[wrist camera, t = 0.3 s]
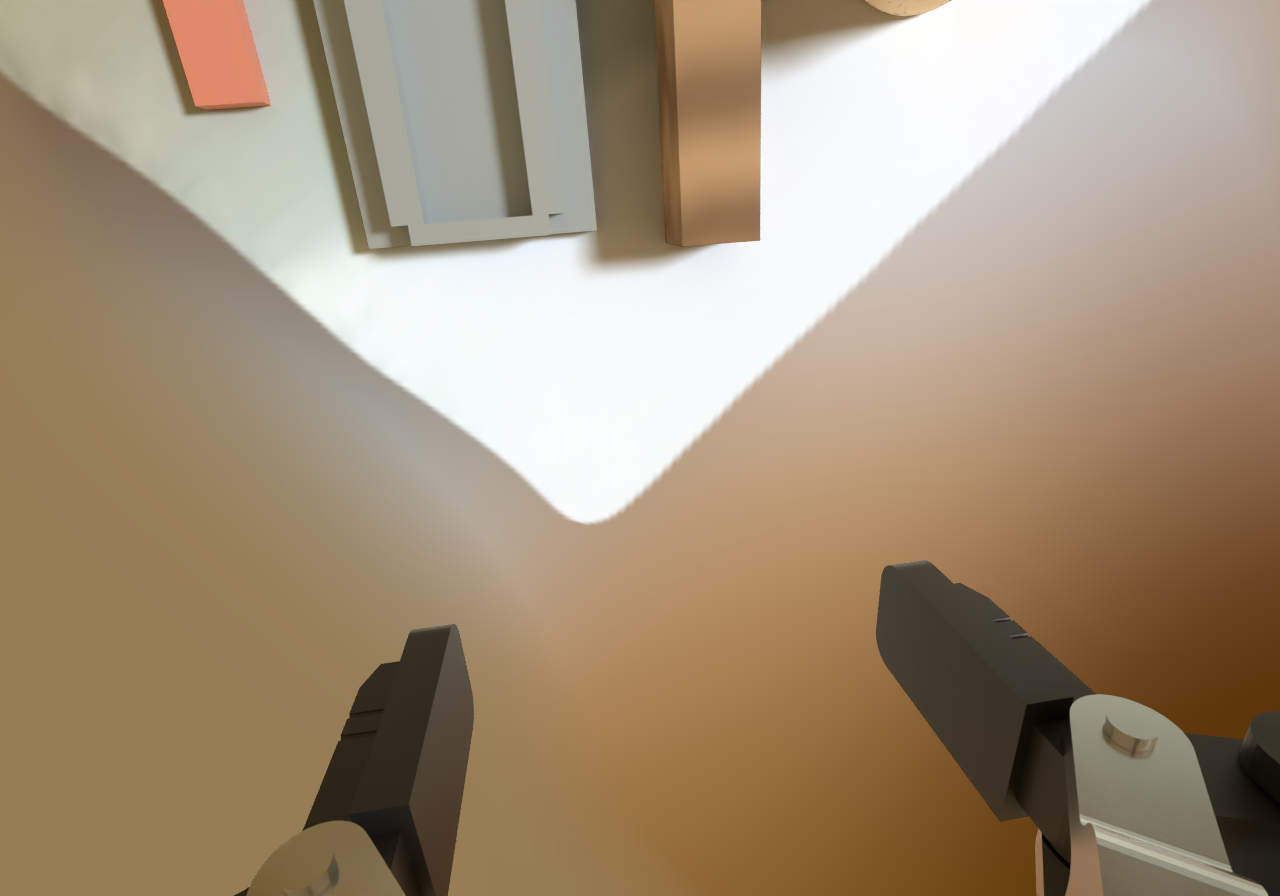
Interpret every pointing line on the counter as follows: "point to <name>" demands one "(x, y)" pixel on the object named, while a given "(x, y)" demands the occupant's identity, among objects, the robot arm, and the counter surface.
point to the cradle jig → (461, 117)
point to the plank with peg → (710, 119)
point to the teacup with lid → (906, 6)
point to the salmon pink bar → (217, 53)
